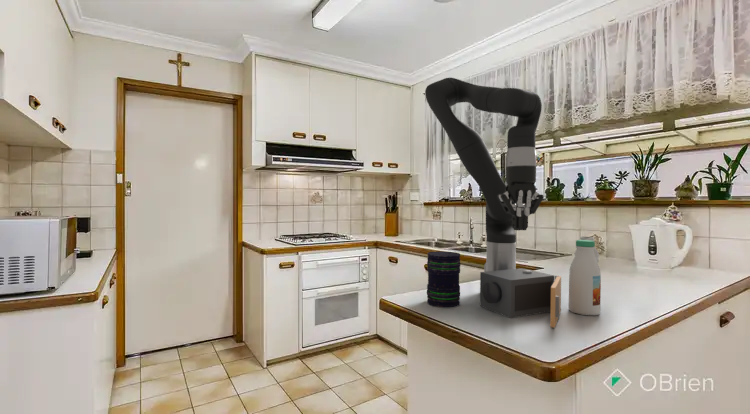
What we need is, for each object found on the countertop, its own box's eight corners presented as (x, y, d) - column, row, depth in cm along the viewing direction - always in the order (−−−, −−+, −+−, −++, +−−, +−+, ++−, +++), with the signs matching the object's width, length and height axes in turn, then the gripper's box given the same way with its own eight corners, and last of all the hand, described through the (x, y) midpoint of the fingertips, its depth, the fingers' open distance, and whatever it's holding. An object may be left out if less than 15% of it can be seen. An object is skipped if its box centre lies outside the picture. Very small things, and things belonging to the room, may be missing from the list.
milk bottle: (583, 317, 101) (585, 242, 100) (562, 309, 108) (563, 239, 108) (607, 315, 103) (608, 241, 102) (584, 307, 110) (585, 238, 110)
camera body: (504, 319, 99) (505, 278, 98) (474, 307, 110) (474, 270, 109) (554, 311, 106) (555, 273, 106) (521, 300, 117) (521, 266, 117)
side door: (558, 328, 91) (558, 288, 90) (547, 326, 92) (548, 287, 92) (563, 310, 105) (564, 276, 105) (554, 309, 106) (555, 275, 106)
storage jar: (445, 310, 107) (445, 257, 106) (419, 302, 114) (420, 253, 114) (467, 303, 113) (467, 254, 113) (441, 297, 120) (442, 250, 120)
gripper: (506, 163, 96) (505, 231, 96) (552, 164, 99) (551, 230, 100) (490, 165, 103) (489, 229, 104) (533, 167, 107) (532, 228, 107)
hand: (520, 229), depth 102 cm, fingers closed
